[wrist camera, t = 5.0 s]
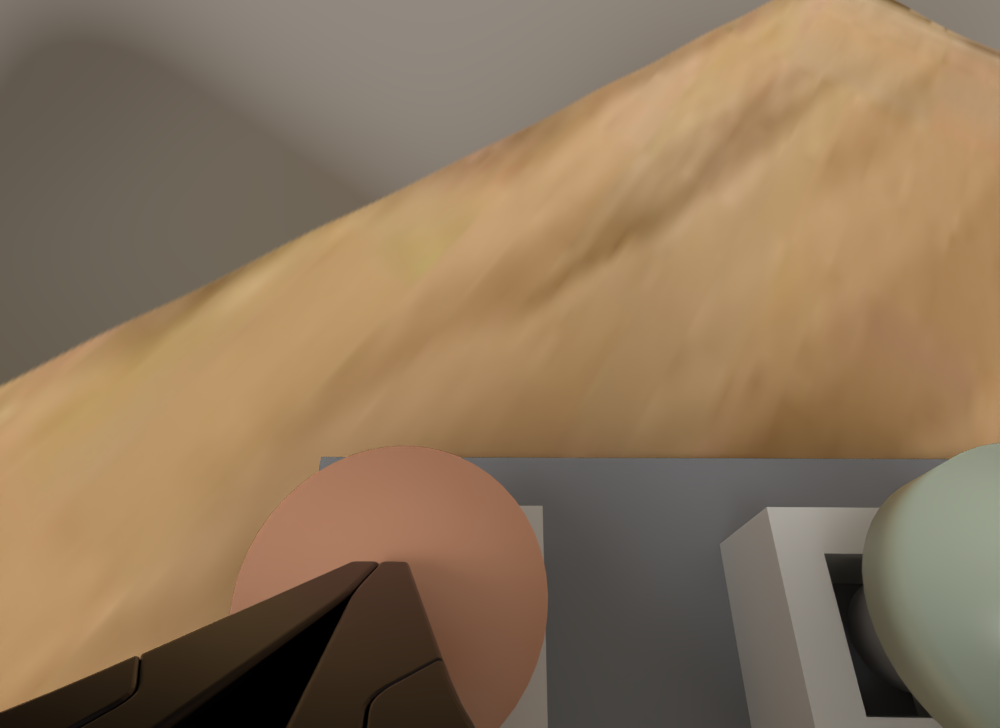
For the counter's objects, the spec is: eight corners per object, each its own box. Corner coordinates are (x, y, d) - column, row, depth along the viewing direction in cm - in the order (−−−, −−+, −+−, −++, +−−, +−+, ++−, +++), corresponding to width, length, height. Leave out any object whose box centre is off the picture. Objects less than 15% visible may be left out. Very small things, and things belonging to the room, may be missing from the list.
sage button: (1076, 775, 11) (1396, 817, 7) (816, 770, 11) (984, 809, 7) (973, 520, 13) (1168, 442, 9) (762, 519, 13) (865, 441, 9)
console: (1499, 906, 13) (1986, 1006, 9) (268, 876, 14) (157, 954, 10) (1226, 477, 18) (1448, 407, 14) (334, 473, 19) (280, 405, 15)
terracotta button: (540, 761, 12) (553, 791, 8) (300, 757, 12) (188, 784, 8) (536, 519, 14) (544, 446, 10) (338, 518, 14) (267, 445, 10)
